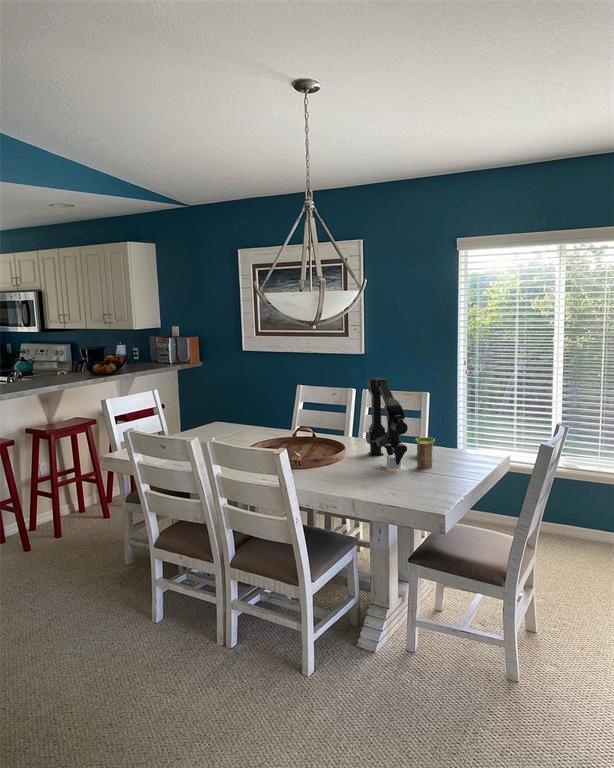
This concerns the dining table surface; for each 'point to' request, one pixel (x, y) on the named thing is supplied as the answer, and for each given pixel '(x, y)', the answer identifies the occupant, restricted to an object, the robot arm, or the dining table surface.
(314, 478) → the dining table surface
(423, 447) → the wooden cuboid post
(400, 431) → the robot arm
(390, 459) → the slate cube
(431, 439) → the plant pot
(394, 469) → the letter
